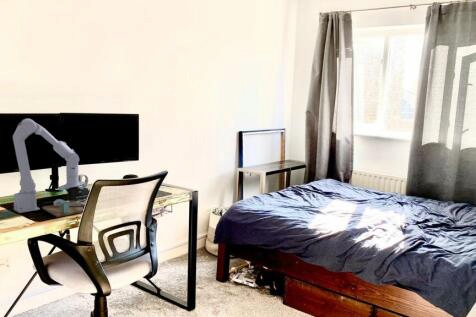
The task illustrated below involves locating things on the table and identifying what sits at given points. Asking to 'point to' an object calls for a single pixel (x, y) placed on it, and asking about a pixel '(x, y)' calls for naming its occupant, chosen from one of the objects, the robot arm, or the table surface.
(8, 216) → the table surface
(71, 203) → the latch bar
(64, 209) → the block
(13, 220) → the table surface
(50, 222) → the table surface
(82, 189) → the watch
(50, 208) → the board
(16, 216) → the table surface
